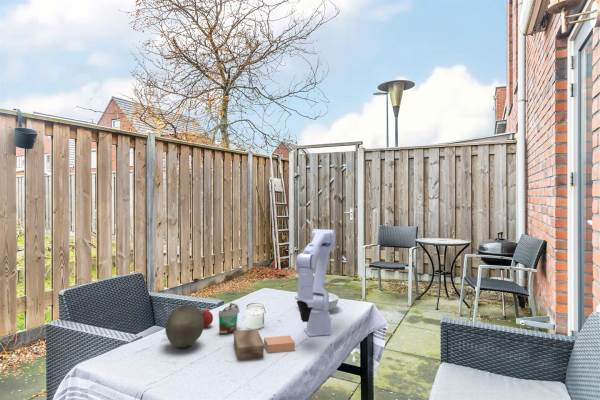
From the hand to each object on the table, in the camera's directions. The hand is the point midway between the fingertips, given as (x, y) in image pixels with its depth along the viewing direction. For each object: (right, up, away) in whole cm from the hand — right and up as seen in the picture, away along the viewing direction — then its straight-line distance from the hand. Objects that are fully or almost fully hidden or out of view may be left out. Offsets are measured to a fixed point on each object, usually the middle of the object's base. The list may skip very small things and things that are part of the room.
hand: (304, 320), depth 137 cm
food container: (-30, -9, +13) cm, 34 cm away
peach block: (-10, -9, -3) cm, 14 cm away
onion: (-42, -9, +17) cm, 46 cm away
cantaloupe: (-44, -9, -3) cm, 45 cm away
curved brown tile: (-21, -9, -6) cm, 23 cm away
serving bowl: (+7, -10, +46) cm, 47 cm away
